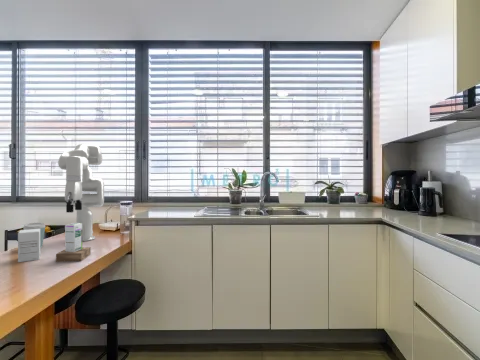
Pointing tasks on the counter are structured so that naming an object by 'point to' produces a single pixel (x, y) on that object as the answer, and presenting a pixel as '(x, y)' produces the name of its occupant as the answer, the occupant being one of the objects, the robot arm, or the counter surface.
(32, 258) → the supplement box
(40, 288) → the counter surface
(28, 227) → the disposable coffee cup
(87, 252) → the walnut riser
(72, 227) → the syrup box
